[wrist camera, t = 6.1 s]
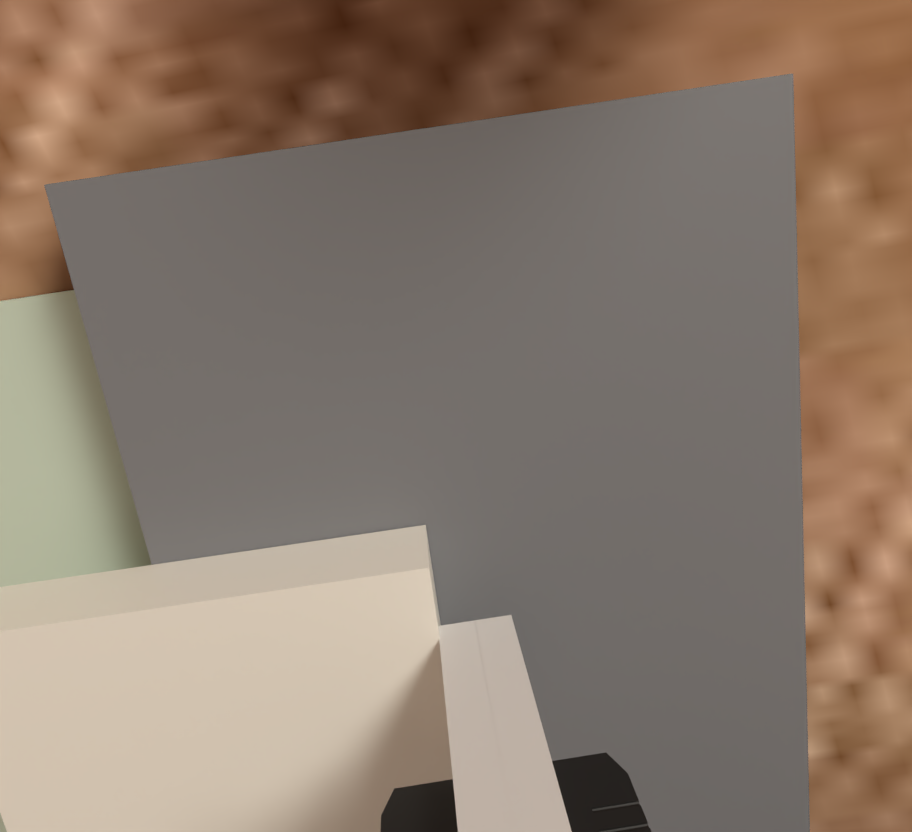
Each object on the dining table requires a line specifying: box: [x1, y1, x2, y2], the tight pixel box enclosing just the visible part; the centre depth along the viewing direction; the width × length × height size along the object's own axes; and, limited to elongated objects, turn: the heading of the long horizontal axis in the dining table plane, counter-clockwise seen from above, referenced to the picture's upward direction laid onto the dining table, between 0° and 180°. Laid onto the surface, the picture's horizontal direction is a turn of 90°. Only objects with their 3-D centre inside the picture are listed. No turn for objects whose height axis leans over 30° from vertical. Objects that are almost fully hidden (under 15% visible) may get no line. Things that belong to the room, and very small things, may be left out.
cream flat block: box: [0, 525, 453, 832], centre depth 16 cm, size 9×6×2 cm, turn 97°
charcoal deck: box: [44, 74, 810, 832], centre depth 18 cm, size 22×14×2 cm, turn 8°
